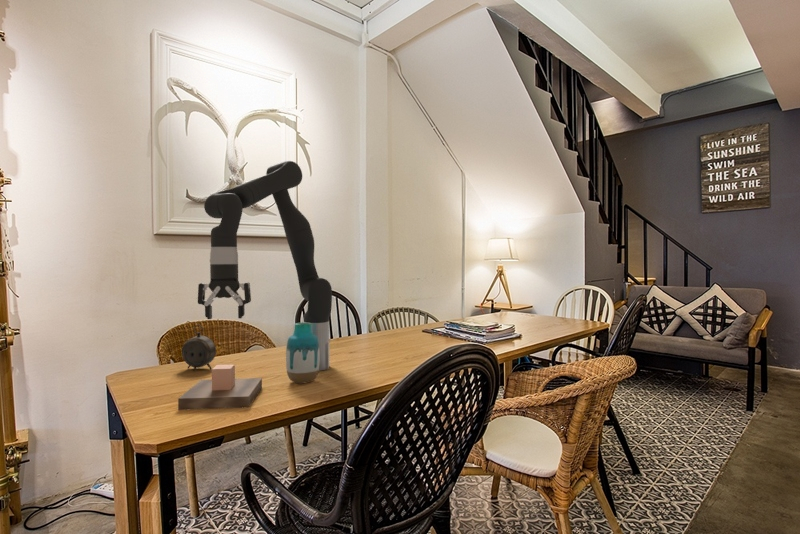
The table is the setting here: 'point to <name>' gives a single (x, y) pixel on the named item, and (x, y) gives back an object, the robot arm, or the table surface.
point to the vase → (302, 354)
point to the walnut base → (220, 395)
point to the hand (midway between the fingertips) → (225, 318)
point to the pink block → (223, 377)
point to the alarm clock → (198, 351)
